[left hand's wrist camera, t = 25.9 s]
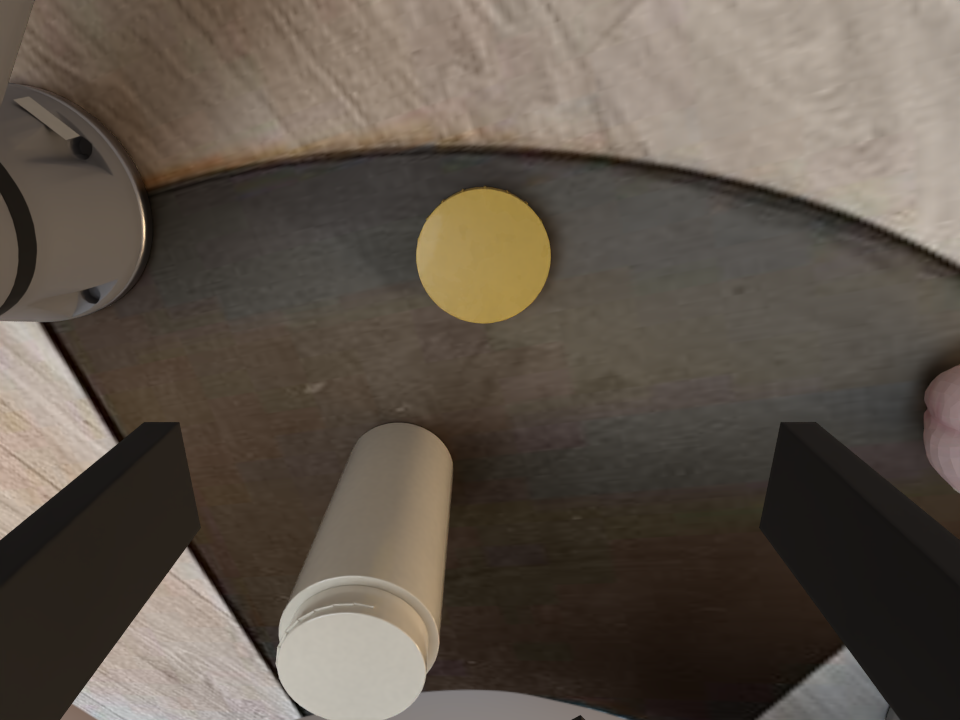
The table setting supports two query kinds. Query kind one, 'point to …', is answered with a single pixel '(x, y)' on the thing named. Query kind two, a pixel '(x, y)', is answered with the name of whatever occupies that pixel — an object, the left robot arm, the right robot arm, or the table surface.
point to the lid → (483, 255)
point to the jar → (372, 581)
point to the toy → (944, 425)
